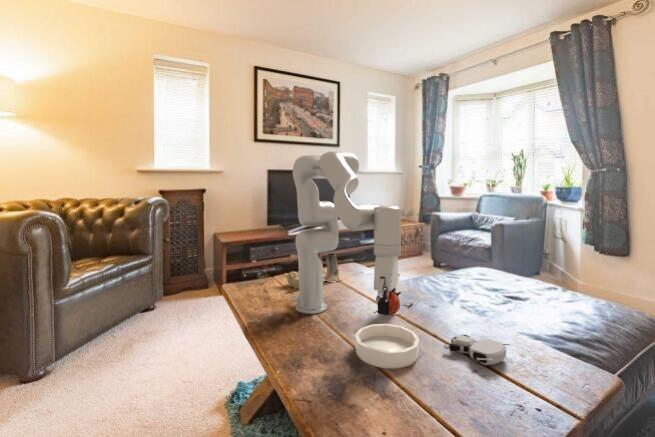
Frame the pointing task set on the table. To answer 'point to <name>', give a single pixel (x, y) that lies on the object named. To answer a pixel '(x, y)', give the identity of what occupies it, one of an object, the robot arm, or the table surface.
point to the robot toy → (479, 349)
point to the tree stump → (331, 268)
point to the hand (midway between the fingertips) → (387, 308)
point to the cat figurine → (292, 279)
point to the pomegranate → (392, 302)
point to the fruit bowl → (387, 346)
